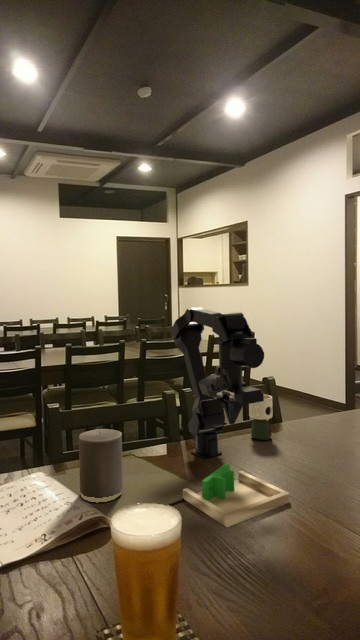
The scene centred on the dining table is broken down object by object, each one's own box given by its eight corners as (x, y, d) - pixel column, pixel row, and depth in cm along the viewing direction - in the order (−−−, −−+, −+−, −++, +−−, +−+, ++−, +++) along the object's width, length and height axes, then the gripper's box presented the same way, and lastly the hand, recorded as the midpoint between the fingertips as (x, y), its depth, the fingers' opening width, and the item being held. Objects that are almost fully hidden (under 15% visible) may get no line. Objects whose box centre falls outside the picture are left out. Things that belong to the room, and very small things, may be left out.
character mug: (267, 445, 130) (266, 401, 129) (244, 442, 133) (243, 399, 132) (277, 434, 139) (276, 393, 138) (255, 432, 142) (254, 392, 142)
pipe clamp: (217, 505, 93) (217, 484, 93) (202, 501, 95) (201, 481, 95) (240, 485, 103) (239, 465, 102) (225, 481, 105) (225, 463, 104)
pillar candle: (86, 507, 94) (85, 438, 94) (75, 490, 103) (73, 426, 102) (129, 497, 99) (128, 431, 98) (115, 481, 108) (113, 420, 107)
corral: (182, 498, 97) (182, 489, 97) (242, 478, 107) (242, 470, 107) (226, 527, 85) (226, 517, 85) (289, 502, 94) (289, 493, 94)
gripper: (184, 361, 115) (185, 420, 116) (225, 371, 98) (227, 440, 99) (219, 357, 120) (220, 413, 121) (264, 366, 104) (265, 431, 105)
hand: (231, 424), depth 111 cm, fingers closed
